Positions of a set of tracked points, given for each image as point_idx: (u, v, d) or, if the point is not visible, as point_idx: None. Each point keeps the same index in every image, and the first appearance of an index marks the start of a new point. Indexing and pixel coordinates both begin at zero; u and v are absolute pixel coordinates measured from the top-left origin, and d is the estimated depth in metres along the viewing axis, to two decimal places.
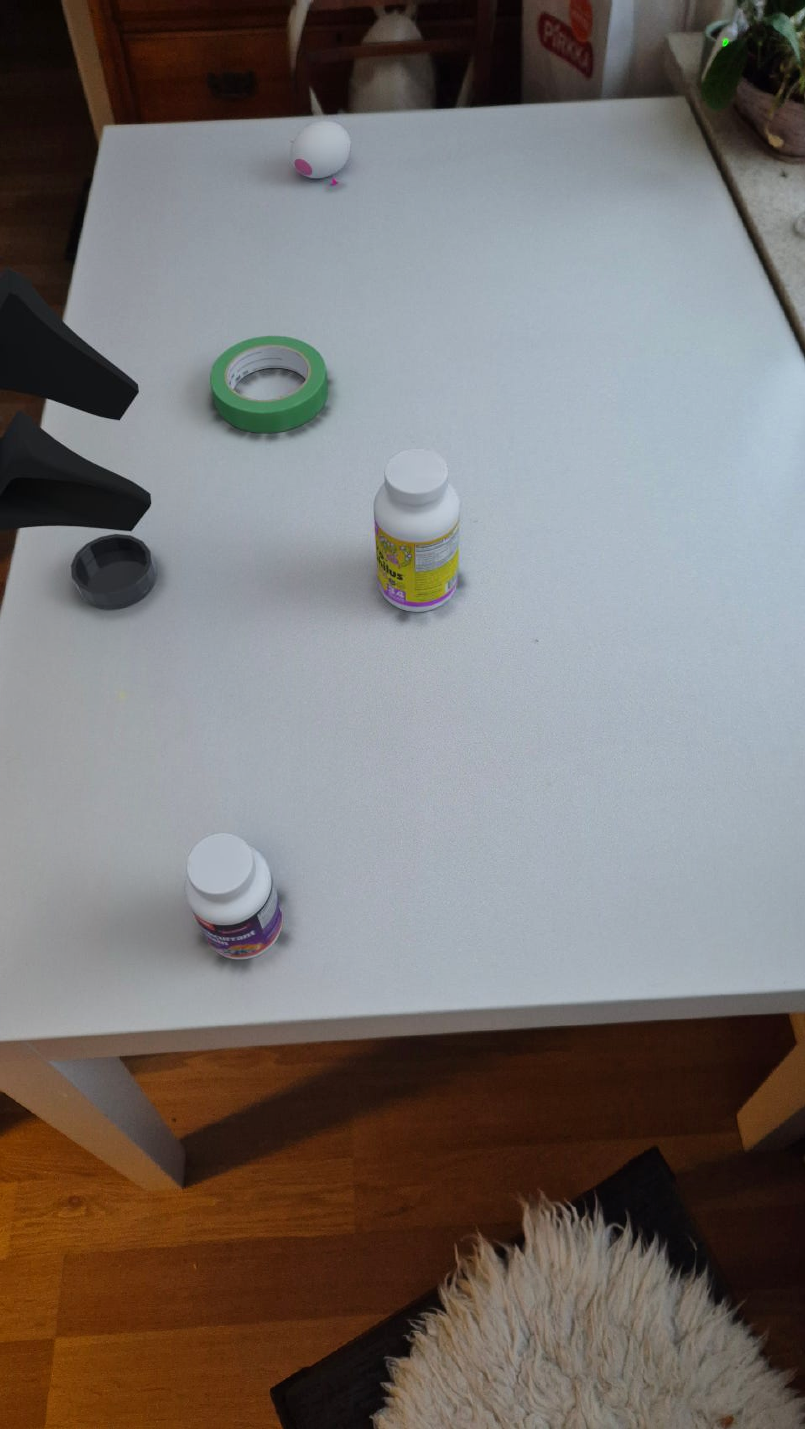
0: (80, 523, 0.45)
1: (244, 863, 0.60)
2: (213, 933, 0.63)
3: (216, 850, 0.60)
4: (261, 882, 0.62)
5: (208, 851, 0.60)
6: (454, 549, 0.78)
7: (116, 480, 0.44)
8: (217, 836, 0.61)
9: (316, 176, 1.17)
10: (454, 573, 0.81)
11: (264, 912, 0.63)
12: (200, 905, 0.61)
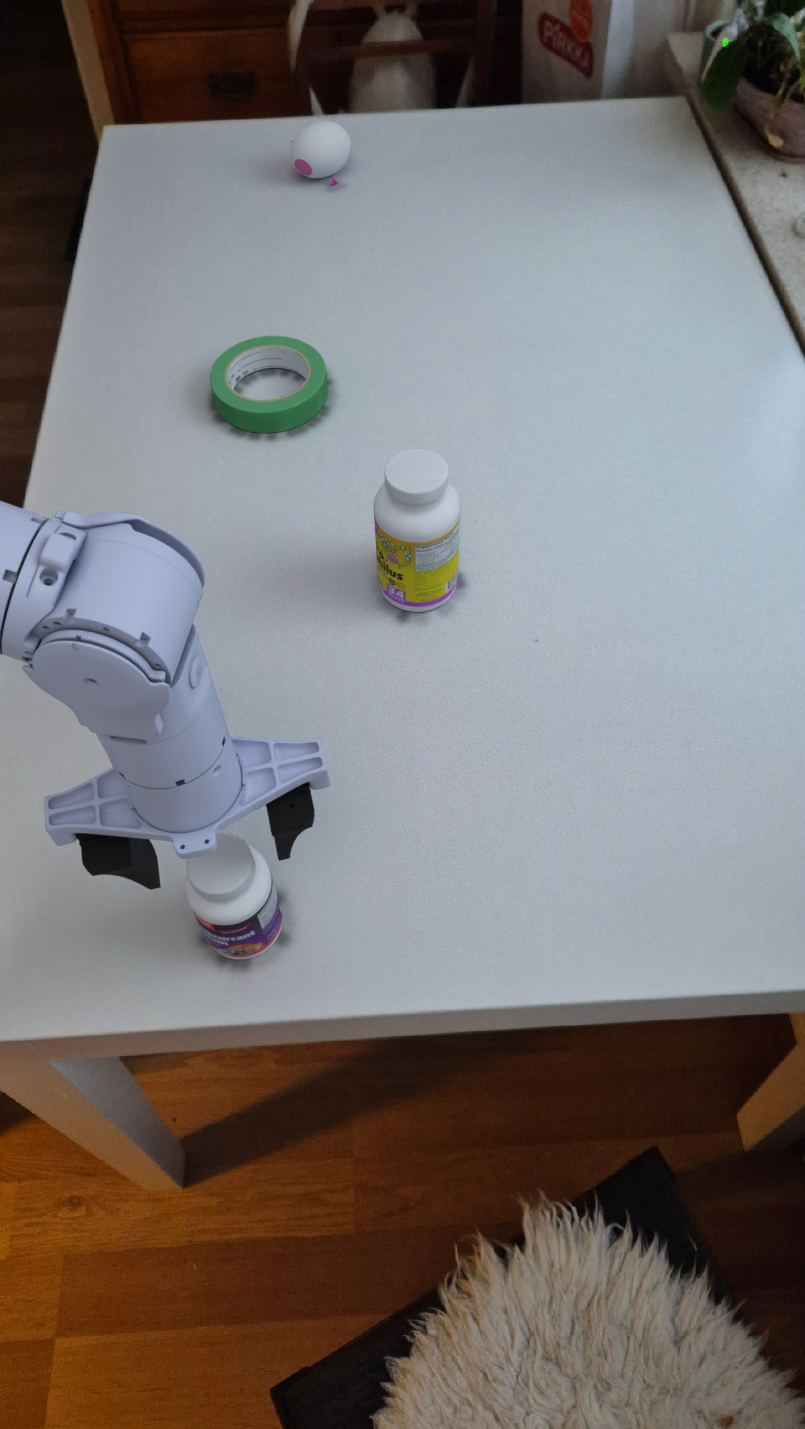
0: None
1: (244, 863, 0.60)
2: (213, 933, 0.63)
3: (216, 851, 0.60)
4: (261, 882, 0.62)
5: None
6: (454, 549, 0.78)
7: (144, 882, 0.57)
8: (217, 837, 0.61)
9: (316, 176, 1.17)
10: (454, 573, 0.81)
11: (264, 912, 0.63)
12: (200, 906, 0.61)
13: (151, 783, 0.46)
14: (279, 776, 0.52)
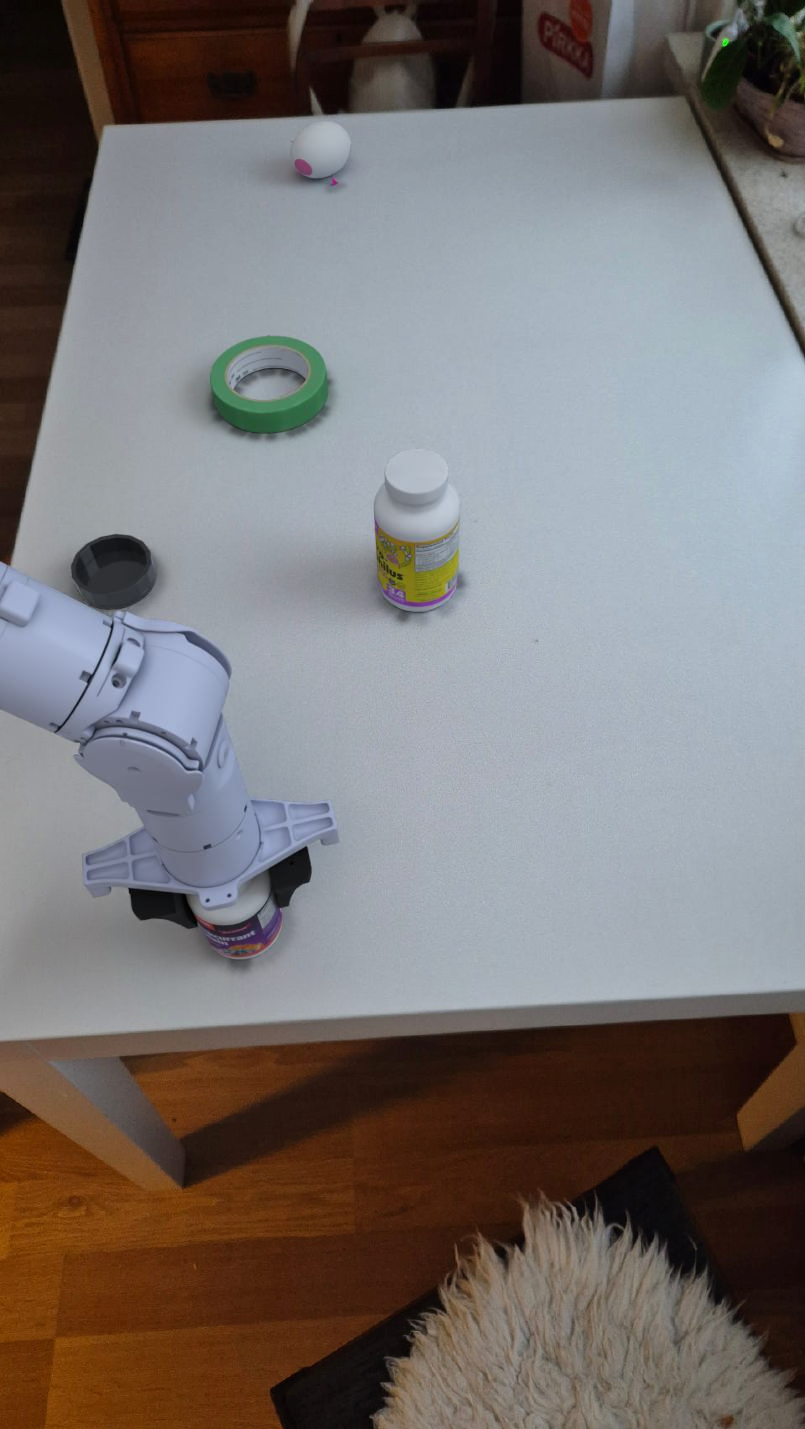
0: None
1: None
2: (213, 933, 0.63)
3: None
4: (261, 882, 0.62)
5: None
6: (454, 549, 0.78)
7: (184, 923, 0.63)
8: None
9: (316, 176, 1.17)
10: (454, 573, 0.81)
11: (264, 912, 0.63)
12: (200, 906, 0.61)
13: (181, 847, 0.52)
14: (293, 834, 0.58)
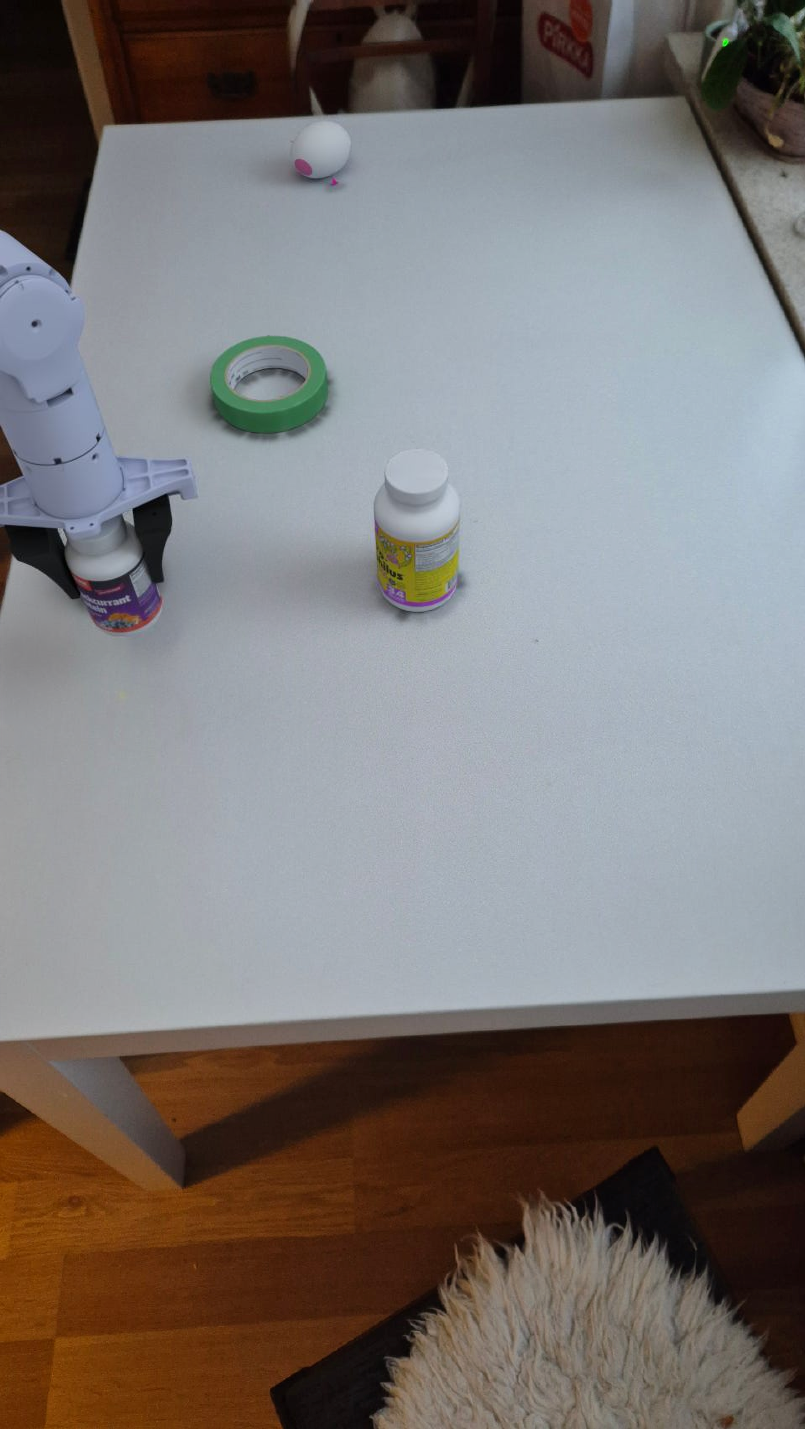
0: None
1: (114, 519, 0.67)
2: (91, 596, 0.70)
3: None
4: (132, 545, 0.69)
5: None
6: (454, 549, 0.78)
7: (65, 586, 0.70)
8: None
9: (316, 176, 1.17)
10: (454, 573, 0.81)
11: (136, 577, 0.70)
12: (76, 562, 0.68)
13: (83, 447, 0.60)
14: (153, 482, 0.65)
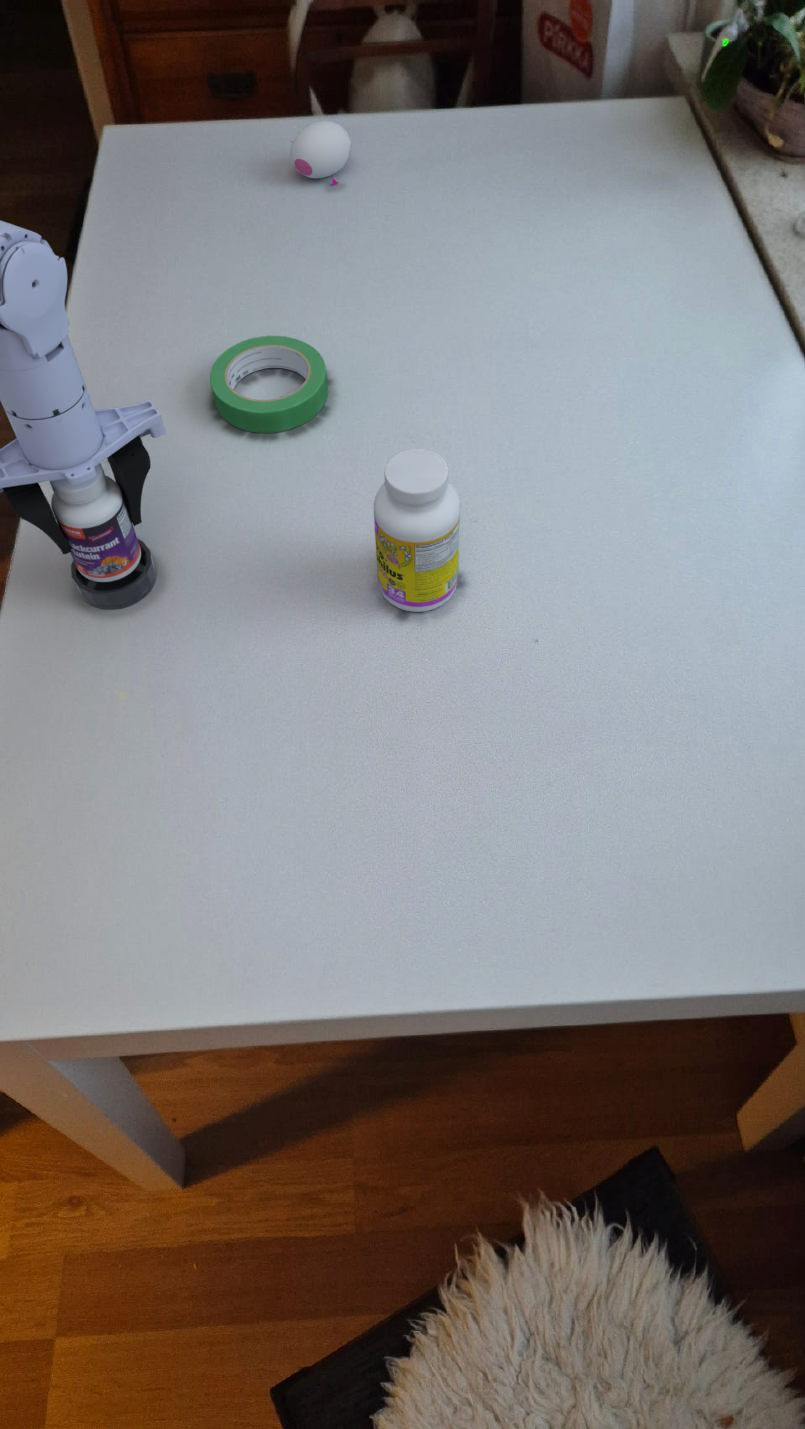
0: None
1: (95, 468, 0.75)
2: (85, 545, 0.78)
3: None
4: (113, 490, 0.77)
5: None
6: (454, 549, 0.78)
7: (60, 540, 0.77)
8: None
9: (316, 176, 1.17)
10: (454, 573, 0.81)
11: (122, 519, 0.78)
12: (68, 514, 0.76)
13: (74, 396, 0.68)
14: (128, 426, 0.74)
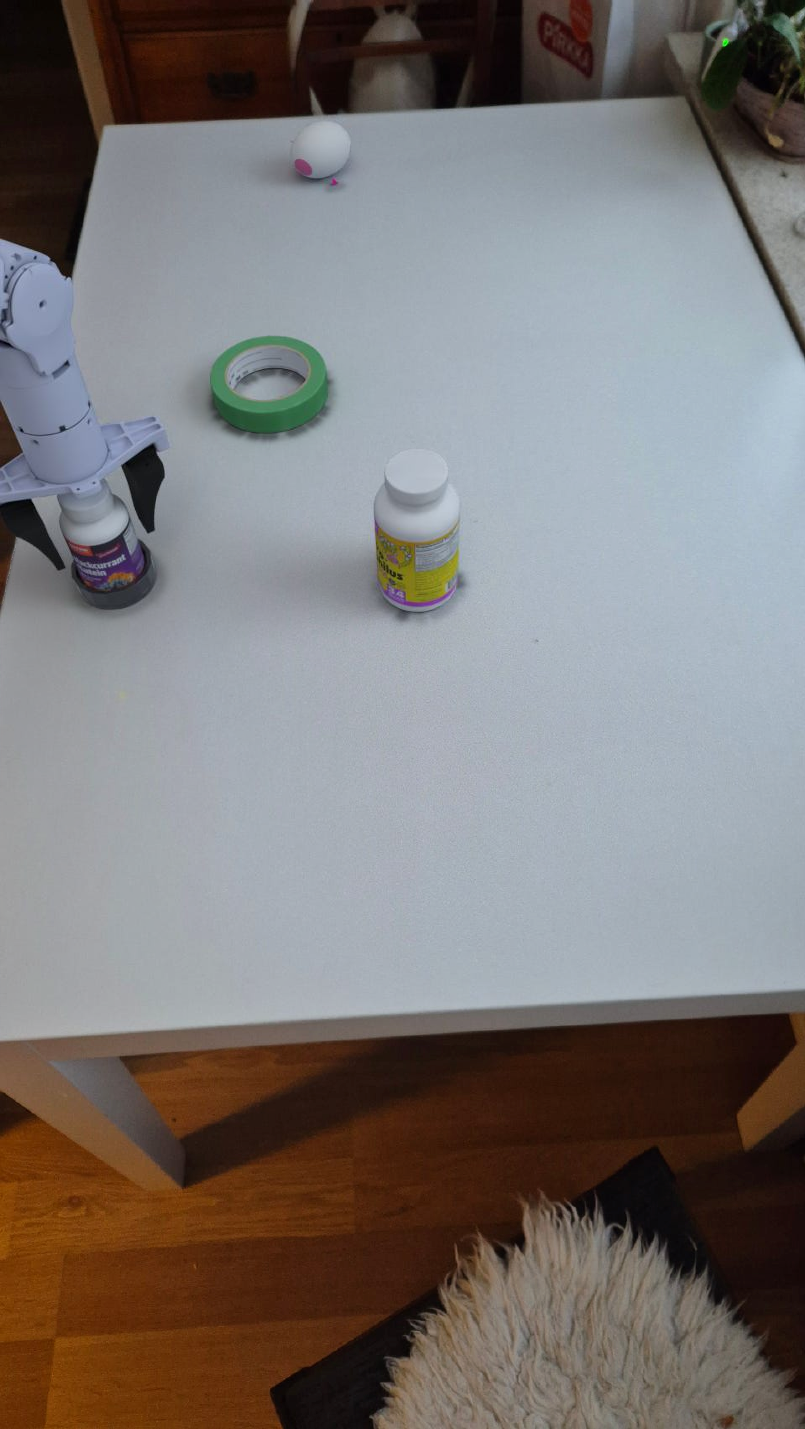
0: None
1: (102, 487, 0.77)
2: (92, 562, 0.80)
3: None
4: (119, 508, 0.79)
5: None
6: (454, 549, 0.78)
7: (54, 557, 0.78)
8: None
9: (316, 176, 1.17)
10: (454, 573, 0.81)
11: (128, 536, 0.80)
12: (76, 532, 0.78)
13: (80, 412, 0.69)
14: (132, 440, 0.75)
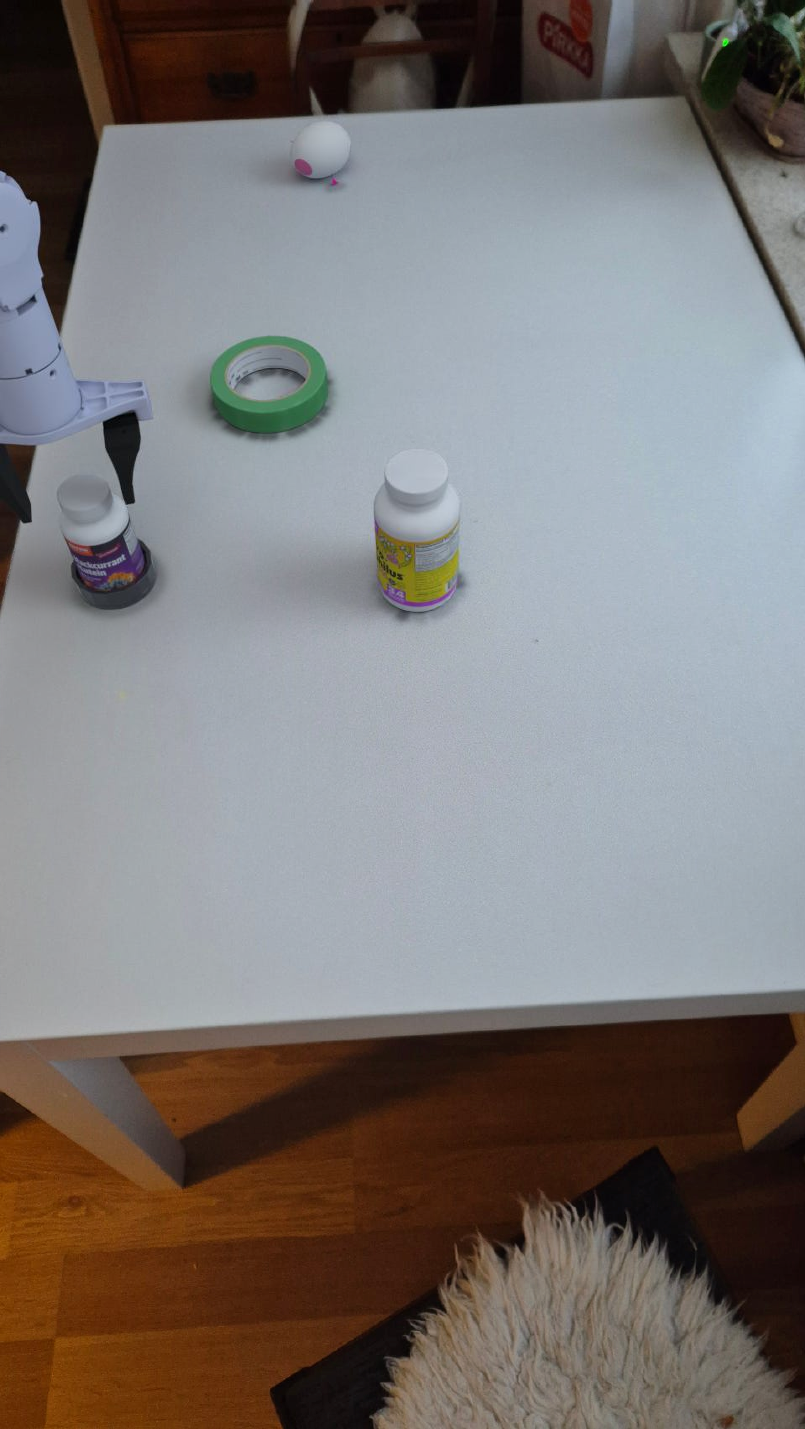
0: (131, 481, 0.74)
1: (102, 487, 0.77)
2: (92, 562, 0.80)
3: (78, 484, 0.77)
4: (119, 508, 0.79)
5: (72, 486, 0.77)
6: (454, 549, 0.78)
7: None
8: (76, 476, 0.78)
9: (316, 176, 1.17)
10: (454, 573, 0.81)
11: (128, 536, 0.80)
12: (76, 532, 0.78)
13: (49, 355, 0.64)
14: None
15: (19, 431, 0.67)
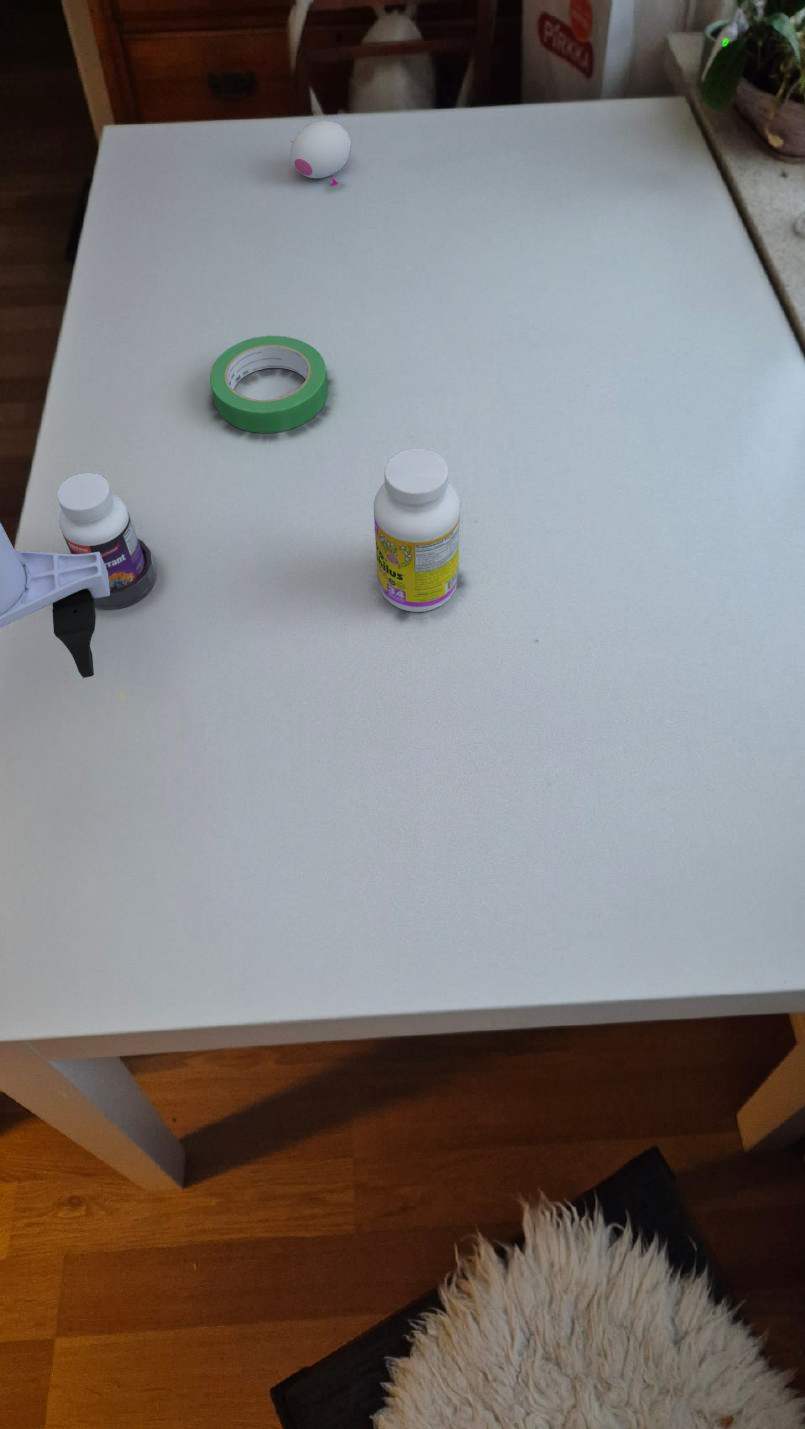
0: (88, 656, 0.65)
1: (102, 487, 0.77)
2: None
3: (78, 484, 0.77)
4: (119, 508, 0.79)
5: (72, 486, 0.77)
6: (454, 549, 0.78)
7: None
8: (76, 476, 0.78)
9: (316, 176, 1.17)
10: (454, 573, 0.81)
11: (128, 536, 0.80)
12: (76, 532, 0.78)
13: None
14: None
15: None
